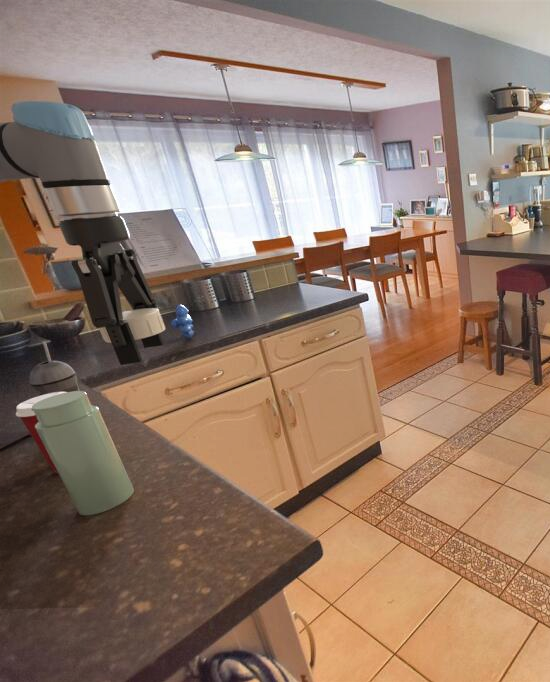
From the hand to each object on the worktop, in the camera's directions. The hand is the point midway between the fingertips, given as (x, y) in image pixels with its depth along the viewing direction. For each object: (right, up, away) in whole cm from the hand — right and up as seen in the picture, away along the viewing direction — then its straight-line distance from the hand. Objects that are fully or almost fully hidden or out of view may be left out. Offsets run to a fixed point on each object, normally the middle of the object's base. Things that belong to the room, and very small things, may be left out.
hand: (143, 353), depth 74 cm
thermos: (-5, -25, -1) cm, 25 cm away
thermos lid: (0, +3, -1) cm, 3 cm away
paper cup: (-22, -22, +10) cm, 32 cm away
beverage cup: (-37, -17, +25) cm, 48 cm away
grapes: (-56, +3, +84) cm, 101 cm away
